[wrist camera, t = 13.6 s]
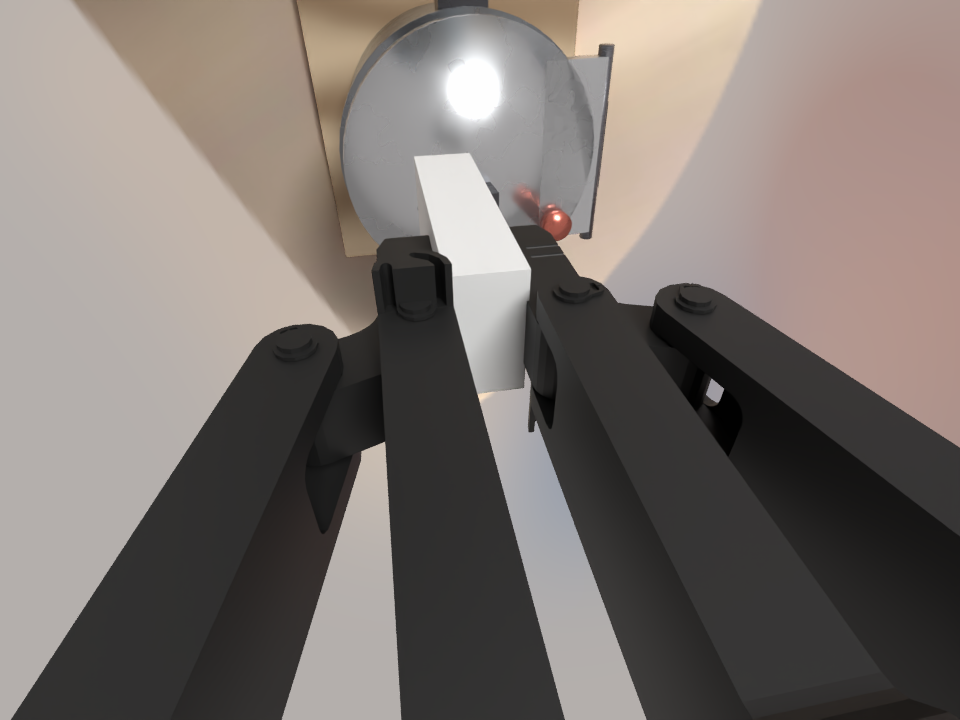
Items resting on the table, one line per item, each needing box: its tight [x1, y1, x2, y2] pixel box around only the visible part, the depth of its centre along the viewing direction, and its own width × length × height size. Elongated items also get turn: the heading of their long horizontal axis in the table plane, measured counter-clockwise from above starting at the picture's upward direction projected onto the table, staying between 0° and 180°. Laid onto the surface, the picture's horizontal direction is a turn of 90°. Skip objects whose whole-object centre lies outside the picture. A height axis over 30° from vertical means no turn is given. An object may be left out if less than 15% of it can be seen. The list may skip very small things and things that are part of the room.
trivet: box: [297, 0, 579, 257], centre depth 38 cm, size 20×18×1 cm
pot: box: [339, 0, 608, 190], centre depth 36 cm, size 24×16×9 cm, turn 1°
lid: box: [343, 13, 615, 246], centre depth 30 cm, size 14×15×3 cm
